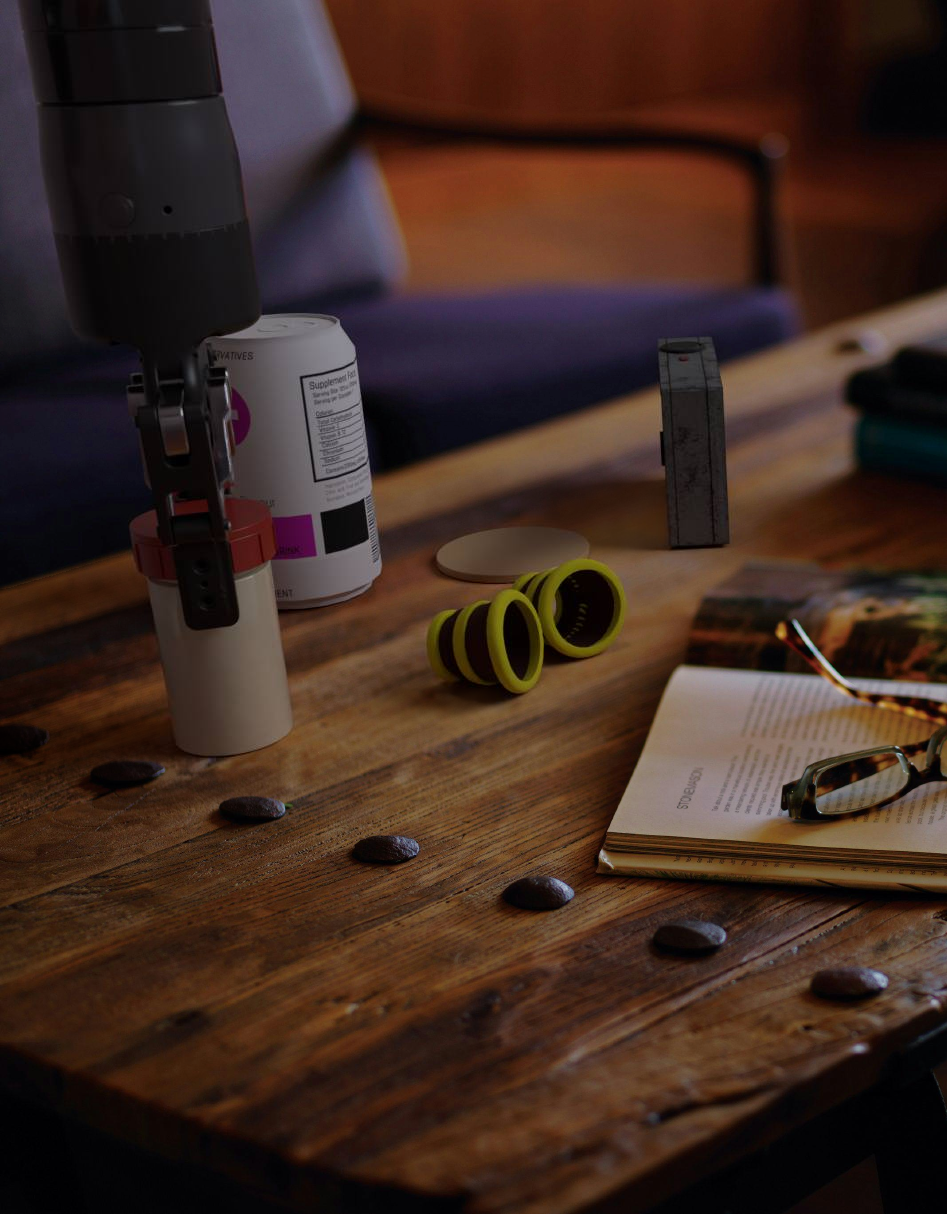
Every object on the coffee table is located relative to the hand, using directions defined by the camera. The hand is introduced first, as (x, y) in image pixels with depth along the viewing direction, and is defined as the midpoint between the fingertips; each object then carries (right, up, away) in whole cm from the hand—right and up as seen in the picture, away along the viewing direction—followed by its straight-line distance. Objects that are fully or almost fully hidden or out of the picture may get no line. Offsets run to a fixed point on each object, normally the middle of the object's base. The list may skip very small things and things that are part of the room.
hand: (215, 599), depth 72 cm
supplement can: (-2, +1, +20) cm, 21 cm away
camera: (+19, +6, +33) cm, 39 cm away
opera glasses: (+12, -3, +9) cm, 16 cm away
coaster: (+9, +3, +25) cm, 26 cm away
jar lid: (0, +3, -1) cm, 3 cm away
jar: (0, -6, +2) cm, 6 cm away
